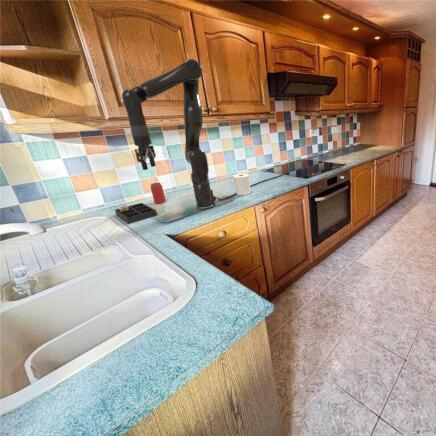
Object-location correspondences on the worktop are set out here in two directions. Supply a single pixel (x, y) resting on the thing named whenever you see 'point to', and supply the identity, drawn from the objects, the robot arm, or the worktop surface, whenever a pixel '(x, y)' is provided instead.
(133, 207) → the grid
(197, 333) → the worktop surface
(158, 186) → the beer can
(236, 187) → the toilet paper
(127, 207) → the token
